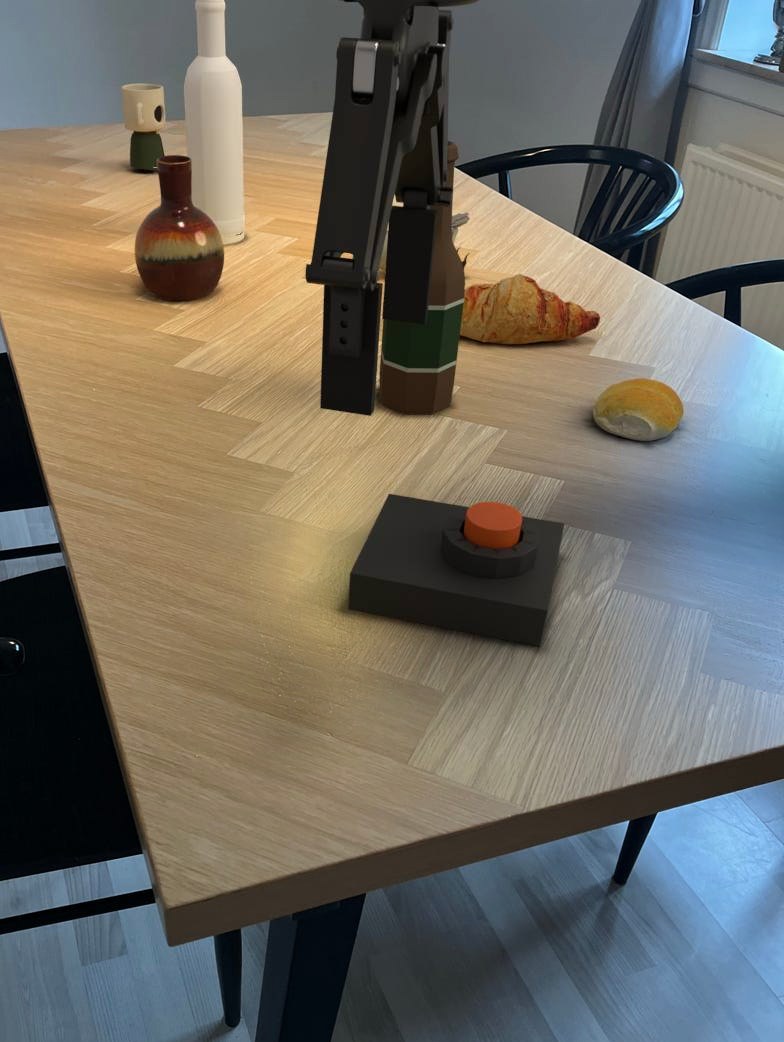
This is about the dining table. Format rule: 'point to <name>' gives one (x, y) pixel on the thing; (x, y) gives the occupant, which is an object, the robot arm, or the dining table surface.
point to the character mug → (144, 123)
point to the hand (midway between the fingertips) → (378, 361)
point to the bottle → (215, 125)
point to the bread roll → (639, 409)
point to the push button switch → (455, 572)
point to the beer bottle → (427, 330)
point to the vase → (178, 239)
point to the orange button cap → (492, 525)
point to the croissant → (521, 313)
